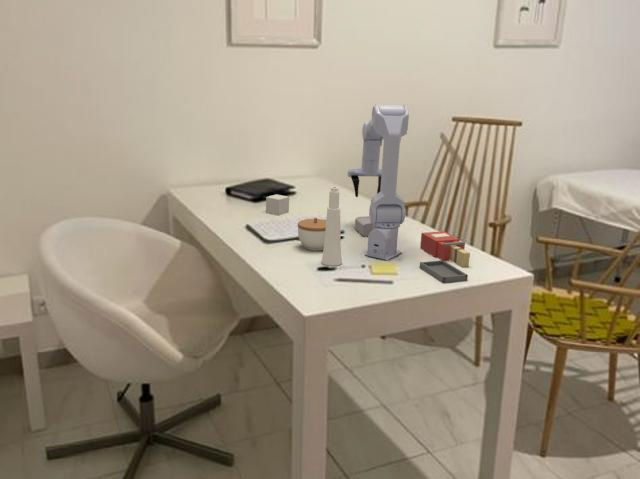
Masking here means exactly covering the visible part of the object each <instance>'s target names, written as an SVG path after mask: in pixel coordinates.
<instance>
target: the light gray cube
mask: <svg viewBox="0 0 640 479" xmlns="http://www.w3.org/2000/svg"><path fill="white" fill-rule="evenodd" d="M265 199H266V200H265V213H266V214H269V215H274V216H275V215H276V216H281V215H285V214H287V213H289V212H290V197H289V196H286V195H281V194H273V195H269V196H266V197H265Z"/></svg>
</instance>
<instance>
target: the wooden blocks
mask: <svg viewBox="0 0 640 479" xmlns="http://www.w3.org/2000/svg"><path fill="white" fill-rule="evenodd" d="M470 254H471V253H470V252H469V251H467V250H466V249H465V248H464V249H462V248H460V247H458V246H456V245H451V246H450V253H449V261H451V262H452V263H454V264H456V265H457V266H459V267H461V268H469V265H470Z"/></svg>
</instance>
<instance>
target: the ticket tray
mask: <svg viewBox="0 0 640 479" xmlns="http://www.w3.org/2000/svg"><path fill="white" fill-rule="evenodd" d="M419 269H420V270H422V271H424V272H425V273H427V274H429V275H430V276H432V277H433V278H434V279H436V280H438V281H439V282H440V283H442V284H448V283H457V282H466V281H468V278H469V276H468V274H467V273H465V272H464V271H462V270H460V269H459V268H457V267H456V266H454V265H453V264H450V263H449V262H447V261H444V260H441V259H439V260H431V261H420V262H419Z"/></svg>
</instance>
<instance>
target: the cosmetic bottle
mask: <svg viewBox="0 0 640 479" xmlns="http://www.w3.org/2000/svg"><path fill="white" fill-rule="evenodd" d="M328 193H329V194H328V195H329V196H328V207H327V211H326V217H325V220H326V230H325V241H324V249H323V250H322V251H323V252H322V256H321V261H320V262H321V264H323V265H325V266H330V267H331V266H332V267H337V266H340V265H342V264H343V258H342V245H341V244H342V243H341V208H340V191H339V187H337V186H331V187H330V190H329V192H328Z"/></svg>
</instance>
